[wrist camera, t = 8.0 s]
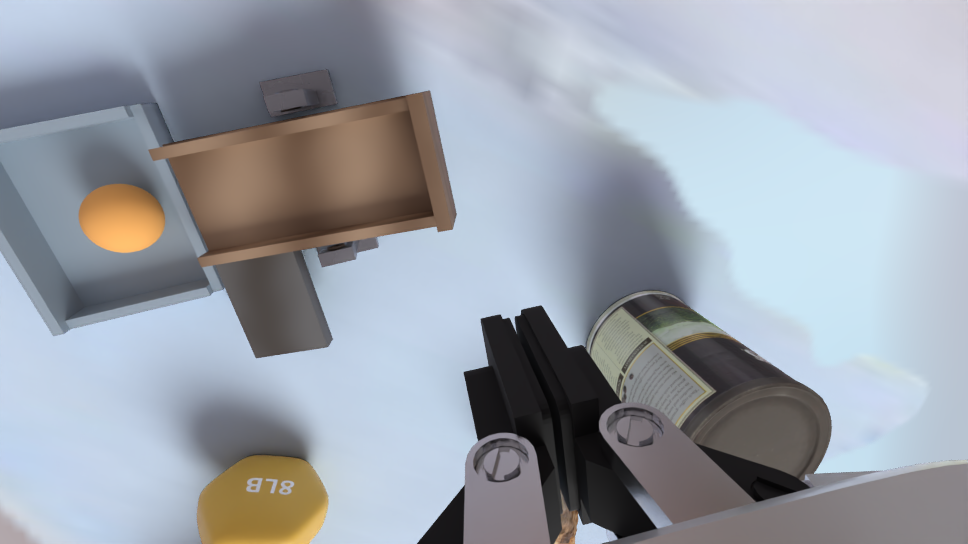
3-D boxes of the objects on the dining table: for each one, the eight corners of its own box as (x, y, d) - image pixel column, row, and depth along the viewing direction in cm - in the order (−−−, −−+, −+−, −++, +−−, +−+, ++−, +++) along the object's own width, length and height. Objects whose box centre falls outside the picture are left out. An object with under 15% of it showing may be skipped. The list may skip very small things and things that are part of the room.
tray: (156, 103, 28) (129, 103, 25) (232, 278, 32) (216, 297, 29) (-18, 136, 27) (-68, 141, 24) (85, 313, 31) (53, 336, 28)
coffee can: (667, 265, 39) (809, 351, 26) (708, 351, 43) (849, 463, 30) (563, 334, 39) (651, 452, 26) (614, 413, 43) (712, 549, 30)
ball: (141, 179, 26) (151, 173, 29) (53, 199, 24) (74, 190, 27) (173, 246, 27) (179, 233, 30) (92, 269, 26) (107, 253, 29)
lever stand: (328, 70, 29) (315, 64, 24) (378, 244, 33) (376, 270, 28) (262, 82, 28) (235, 79, 23) (322, 257, 33) (310, 286, 28)
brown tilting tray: (433, 89, 27) (422, 92, 22) (479, 305, 32) (477, 340, 28) (189, 139, 28) (136, 150, 24) (272, 338, 33) (240, 376, 29)
